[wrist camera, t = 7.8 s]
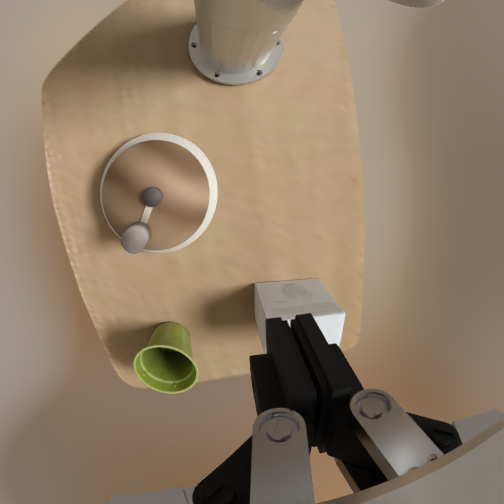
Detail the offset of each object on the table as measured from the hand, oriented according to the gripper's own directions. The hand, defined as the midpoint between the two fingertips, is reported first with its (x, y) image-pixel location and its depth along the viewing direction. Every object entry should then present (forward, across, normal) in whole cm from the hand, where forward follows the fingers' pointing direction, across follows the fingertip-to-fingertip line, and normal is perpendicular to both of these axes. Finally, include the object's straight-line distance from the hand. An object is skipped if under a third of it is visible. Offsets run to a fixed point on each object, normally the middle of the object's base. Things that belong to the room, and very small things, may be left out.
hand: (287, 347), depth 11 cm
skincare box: (+31, -7, +16) cm, 36 cm away
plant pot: (+31, +12, +21) cm, 39 cm away
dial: (+29, +10, -2) cm, 31 cm away
